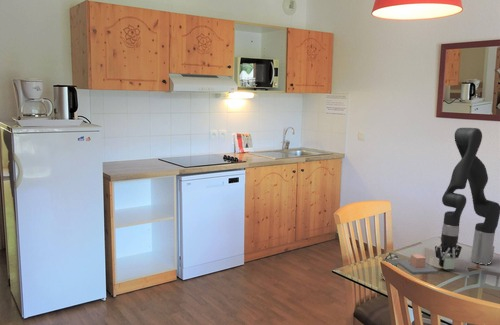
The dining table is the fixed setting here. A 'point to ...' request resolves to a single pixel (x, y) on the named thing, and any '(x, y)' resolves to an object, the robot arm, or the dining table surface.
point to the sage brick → (448, 262)
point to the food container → (392, 259)
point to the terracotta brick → (417, 261)
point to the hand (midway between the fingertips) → (446, 265)
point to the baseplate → (417, 270)
